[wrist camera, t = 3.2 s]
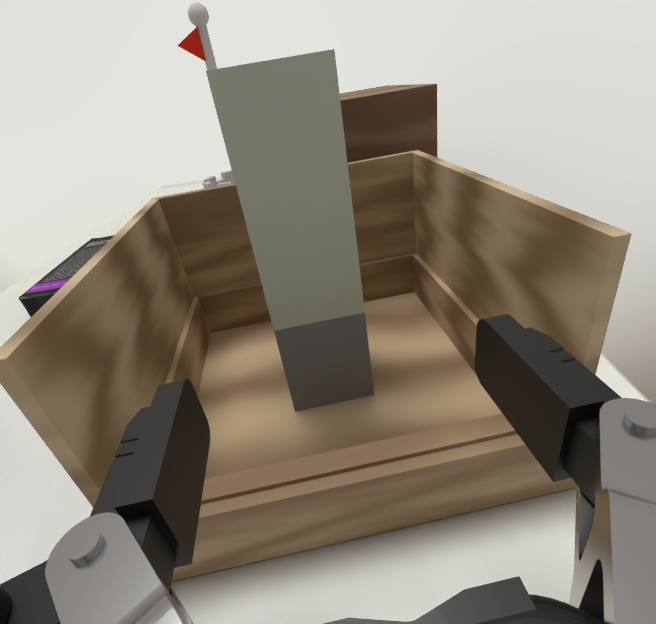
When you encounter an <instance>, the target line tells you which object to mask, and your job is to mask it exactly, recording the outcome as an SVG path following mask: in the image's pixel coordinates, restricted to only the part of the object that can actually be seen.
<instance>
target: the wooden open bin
mask: <svg viewBox="0 0 656 624" xmlns="http://www.w3.org/2000/svg"><path fill="white" fill-rule="evenodd" d="M347 164H348V172H349V181H350V189H351V198H352V207H353V215H354V224H355V232H356V241H357V250H358V258H359V267H360V275H361V284H362V293H363V301H364V310H365V319H366V327H367V336H368V344H369V353H370V362H371V370H372V379H373V387H374V395H371V396H366V397H361V398H357V399H352V400H347V401H343V402H338V403H333V404H329V405H324V406H319V407H315V408H310V409H305V410H301V411H296V412H295V410H294V406H293V402H292V398H291V395H290V391H289V387H288V383H287V379H286V375H285V372H284V368H283V364H282V360H281V356H280V352H279V349H278V345H277V341H276V337H275V333H274V329H273V326H272V322H271V318H270V314H269V310H268V306H267V303H266V299H265V295H264V291H263V287H262V283H261V280H260V276H259V272H258V268H257V264H256V260H255V257H254V253H253V249H252V245H251V241H250V238H249V234H248V230H247V226H246V222H245V218H244V215H243V211H242V207H241V203H240V199H239V195H238V192H237V188H236V184H229V185H224V186H218V187H213V188H207V189H202V190H196V191H191V192H185V193H180V194H175V195H169V196H164V197H158V198H153V199H151V200H150V201H149V202H148V203H147V204H146V205H145V206H144V207H143V208H142V209H141V210H140V211H139V212H138V213H137V214H136V215H135V216H134V217H133V218H132V219H131V220H130V221H129V222H128V223H127V224H126V225H125V226H124V227H123V228H122V229H121V230H120V231H119V232H118V233H117V234H116V235H115V236H114V237H113V238H112V239H111V240H109V241H108V242H107V243H106V244H105V245H104V246H103V247H102V248H101V249H100V250H99V251H98V252H97V253H96V254H95V255H94V256H93V257H92V258H91V259H90V260H89V261H88V262H87V263H86V264H85V265H84V266H83V267H82V268H81V269H80V270H79V271H78V272H77V273H76V274H75V275H74V276H73V277H72V278H71V279H70V280H69V281H68V282H67V283H66V284H65V285H64V286H63V287H62V288H61V289H60V290H59V291H58V292H57V293H56V294H54V295H53V296H52V297H51V298H50V299H49V300H48V301H47V302H46V303H45V304H44V305H43V306H42V307H41V308H40V309H39V310H38V311H37V312H36V313H35V314H34V315H33V316H32V317H31V318H30V319H29V320H28V321H27V322H26V323H25V324H24V325H23V326H22V327H21V328H20V329H19V330H18V331H17V332H16V333H15V334H14V335H13V336H12V337H11V338H10V339H9V340H8V341H7V342H6V343H5V344H4V345H3V346H2V347H1V348H0V383H1V385H2V386H3V387H4V389H5V390H6V391H7V393H8V394H9V395H10V397H11V398H12V399H13V401H14V402H15V403H16V405H17V406H18V407H19V409H20V410H21V411H22V413H23V414H24V415H25V417H26V418H27V419H28V421H29V422H30V423H31V425H32V426H33V427H34V429H35V430H36V431H37V433H38V434H39V435H40V437H41V438H42V439H43V441H44V442H45V443H46V445H47V446H48V447H49V449H50V450H51V451H52V453H53V454H54V455H55V457H56V458H57V459H58V461H59V462H60V463H61V465H62V466H63V467H64V469H65V470H66V471H67V473H68V474H69V476H70V477H71V478H72V480H73V481H74V482H75V484H76V485H77V486H78V488H79V489H80V490H81V492H82V493H83V494H84V496H85V497H86V498H87V500H88V501H89V502H90V504H91V505H92V506H93V508H94V505H95V503H96V500H97V498H98V495H99V493H100V490H101V488H102V485H103V483H104V481H105V478H106V476H107V473H108V471H109V468H110V466H111V463H112V461H113V460H114V459H115V453H116V451H117V449H118V446H119V445H121V442H120V441H121V439H122V436H123V434H124V431H125V429H126V426H127V424H128V423H129V422H130V421H131V420H132V418H133V417H134V416H135V415H136V414H137V413H138V411H139V410H140V409H141V408H145V407H150V406H151V403H152V400H153V397H154V394H155V392H156V389H157V387H158V386H159V385H162V384H167V383H171V382H176V381H181V380H186V379H188V380H190V381H191V383H192V385H193V387H194V389H195V392H196V394H197V396H198V399H199V401H200V403H201V406H202V408H203V411H204V413H205V415H206V418H207V420H208V424H209V428H210V447H209V454H208V460H207V467H206V473H205V480H204V487H203V493H202V500H201V507H200V513H199V520H198V527H197V533H196V540H195V546H194V553H193V560H192V564H190V565H185V566H181V567H177V568H174V572H173V578H172V581H176V580H181V579H185V578H189V577H193V576H198V575H202V574H206V573H211V572H215V571H219V570H224V569H228V568H232V567H236V566H241V565H245V564H249V563H254V562H258V561H262V560H267V559H271V558H275V557H279V556H284V555H288V554H292V553H297V552H301V551H305V550H309V549H314V548H318V547H322V546H327V545H331V544H335V543H340V542H344V541H348V540H352V539H357V538H361V537H365V536H370V535H374V534H378V533H383V532H387V531H391V530H395V529H400V528H404V527H408V526H413V525H417V524H421V523H426V522H430V521H434V520H438V519H443V518H447V517H451V516H456V515H460V514H464V513H469V512H473V511H477V510H481V509H486V508H490V507H494V506H499V505H503V504H507V503H512V502H516V501H520V500H524V499H529V498H533V497H537V496H542V495H546V494H550V493H555V492H559V491H563V490H567V489H572V488H576V487H578V485H577V484H576V483H575V482H574V480H573V479H572V478H569V479H565V480H561V481H556V482H553V481H552V480H551V479H550V477H549V476H548V474H547V473H546V472H545V470H544V469H543V468H542V466H541V465H540V464H539V462H538V461H537V460H536V458H535V457H534V456H533V454H532V453H531V451H530V450H529V449H528V447H527V446H526V445H525V443H524V442H523V441H522V439H521V438H520V437H519V435H518V434H517V433H516V431H515V430H514V428H513V427H512V426H511V424H510V423H509V422H508V420H507V419H506V418H505V416H504V415H503V414H502V412H501V411H500V410H499V408H498V407H497V406H496V404H495V403H494V401H493V400H492V399H491V397H490V396H489V395H488V393H487V392H486V391H485V389H484V388H483V387H482V385H481V384H480V382H479V380H478V377H477V374H476V370H475V348H476V329H477V323H478V321H479V320H480V319H484V318H489V317H494V316H498V315H503V314H509V315H510V316H512V317H513V318H514V319H515V320H516V321H517V322H518V323H519V324H521V325H522V326H523V327H524V328H525V329H526V328H530V327H531V328H533V329H535V330H537V331H540V332H542V333H544V334H546V335H548V336H550V337H551V338H553V339H554V340H555V341H556V342H557V343H558V344H560V345H561V346H562V347H563V348H564V351H568V352H569V353H570V354H571V355H572V356H573V357H575V360H576V361H579V362H580V363H582V364H583V365H584V366H585V367H586V368H587V369H589V370H590V371H591V372H592V373H593V374H594V375H595V374H596V370H597V366H598V362H599V358H600V354H601V350H602V346H603V342H604V338H605V335H606V331H607V327H608V323H609V319H610V315H611V311H612V307H613V303H614V300H615V296H616V292H617V288H618V284H619V280H620V276H621V272H622V268H623V265H624V261H625V256H626V253H627V248H628V245H629V241H630V237H631V233H629V232H626V231H624V230H621V229H619V228H616V227H614V226H611V225H608V224H606V223H603V222H601V221H598V220H596V219H593V218H591V217H588V216H585V215H583V214H580V213H578V212H575V211H573V210H570V209H567V208H565V207H562V206H560V205H557V204H554V203H552V202H550V201H547V200H544V199H542V198H539V197H537V196H534V195H532V194H529V193H526V192H524V191H521V190H519V189H516V188H514V187H511V186H508V185H506V184H503V183H500V182H498V181H495V180H493V179H490V178H488V177H485V176H483V175H480V174H478V173H475V172H473V171H470V170H467V169H465V168H462V167H460V166H457V165H454V164H452V163H449V162H446V161H444V160H442V159H439V158H437V157H434V156H431V155H429V154H426V153H424V152H421V151H419V150H415V151H409V152H404V153H398V154H393V155H387V156H382V157H376V158H371V159H366V160H360V161H355V162H349V163H347Z"/></svg>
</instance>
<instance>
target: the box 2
mask: <svg viewBox="0 0 656 624" xmlns="http://www.w3.org/2000/svg"><path fill="white" fill-rule="evenodd" d="M206 73H207V76H208V80H209V84H210V88H211V92H212V96H213V100H214V104H215V107H216V111H217V115H218V119H219V123H220V126H221V130H222V134H223V138H224V142H225V145H226V149H227V153H228V157H229V161H230V165H231V169H232V172H233V176H234V180H235V184H236V188H237V192H238V195H239V199H240V203H241V207H242V211H243V215H244V218H245V222H246V226H247V230H248V234H249V238H250V241H251V245H252V249H253V253H254V257H255V260H256V264H257V268H258V272H259V276H260V280H261V283H262V287H263V291H264V295H265V299H266V303H267V306H268V310H269V314H270V318H271V322H272V326H273V329H274V333H275V337H276V341H277V345H278V349H279V352H280V356H281V360H282V364H283V368H284V372H285V375H286V379H287V383H288V387H289V391H290V395H291V398H292V402H293V406H294V410H295V412H296V411H301V410H305V409H310V408H315V407H319V406H324V405H329V404H333V403H338V402H343V401H347V400H352V399H357V398H361V397H366V396H371V395H374V387H373V379H372V370H371V362H370V353H369V344H368V336H367V327H366V319H365V310H364V301H363V293H362V284H361V275H360V267H359V258H358V250H357V241H356V232H355V224H354V215H353V207H352V198H351V189H350V181H349V172H348V164H347V155H346V146H345V138H344V129H343V120H342V112H341V103H340V95H339V86H338V77H337V69H336V60H335V52H334V49H333V50H327V51H321V52H315V53H309V54H304V55H298V56H292V57H286V58H280V59H274V60H269V61H262V62H256V63H250V64H244V65H238V66H232V67H227V68H220V69H214V70H208V71H206Z"/></svg>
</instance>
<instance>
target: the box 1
mask: <svg viewBox="0 0 656 624" xmlns="http://www.w3.org/2000/svg"><path fill="white" fill-rule="evenodd" d="M114 236H115V235H114ZM114 236H108V237H103V238H92V239H91V240H89V241H88V242H87V243H85V244H84V245H83V246H82V247H80V248H79V249H78V250H77V251H75V252H74V253H73V254H72V255H71V256H69V257H68V258H67V259H66V260H64V261H63V262H62V263H61V264H59V265H58V266H57V267H56V268H54V269H53V270H52V271H51V272H49V273H48V274H47V275H46V276H44V277H43V278H42V279H41V280H40V281H39V282H37V283H36V284H35V285H34V286H32V287H31V288H30V289H29V290H27V291H26V292H25V293H24V294H23V295H21V296H20V297H19V300H20V301H21V303H22V304H23V306H24V307H25V308H26V310H27V312H28V313H29V315H30V316H31V317H32V316H33V315H34V314H35V313H36V312H37V311H38V310H39V309H40V308H41V307H42V306H43V305H44V304H45V303H46V302H47V301H48V300H49V299H50V298H51V297H52V296H53V295H54V294H56V293H57V292H58V291H59V290H60V289H61V288H62V287H63V286H64V285H65V284H66V283H67V282H68V281H69V280H70V279H71V278H72V277H73V276H74V275H75V274H76V273H77V272H78V271H79V270H80V269H81V268H82V267H83V266H84V265H85V264H86V263H87V262H88V261H89V260H90V259H91V258H92V257H93V256H94V255H95V254H96V253H97V252H98V251H99V250H100V249H101V248H102V247H103V246H104V245H105V244H106V243H107V242H108V241H109V240H111V239H112V238H113V237H114Z"/></svg>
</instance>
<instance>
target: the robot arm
mask: <svg viewBox="0 0 656 624" xmlns="http://www.w3.org/2000/svg"><path fill="white" fill-rule="evenodd" d="M475 370H476V374H477V377H478V380H479V382H480V384H481V385H482V387H483V388H484V389H485V391H486V392H487V393H488V395H489V396H490V397H491V399H492V400H493V401H494V403H495V404H496V406H497V407H498V408H499V410H500V411H501V412H502V414H503V415H504V416H505V418H506V419H507V420H508V422H509V423H510V424H511V426H512V427H513V428H514V430H515V431H516V433H517V434H518V435H519V437H520V438H521V439H522V441H523V442H524V443H525V445H526V446H527V447H528V449H529V450H530V451H531V453H532V454H533V456H534V457H535V458H536V460H537V461H538V462H539V464H540V465H541V466H542V468H543V469H544V470H545V472H546V473H547V474H548V476H549V477H550V479H551V480H552V481H553V482H556V481H561V480H565V479H569V478H572V479H573V480H574V482H575V483H576V484H577V485H578V490H577V495H576V526H575V558H574V575H573V582H572V588H571V594H570V603H569V604H567V603H564V602H561V601H558V600H555V599H552V598H547V597H542V596H537V595H529V594H528V592H527V590H526V589H525V587H524V585H523V583H522V581H521V579H520V577H514V578H510V579H506V580H502V581H498V582H494V583H490V584H486V585H481V586H477V587H473V588H469V589H465V590H463V591H461V592H460V593H458V594H457V595H455V596H453V597H452V598H450V599H449V600H447V601H445V602H444V603H442V604H441V605H439V606H437V607H436V608H434V609H433V610H431V611H429V612H428V613H426V614H425V615H423V616H421V617H420V618H418V619H416V620H414V621H410V622H400V621H386V620H372V619H358V618H345V619H341V620H337V621H333V622H329V623H325V624H656V405H654V404H652V403H649V402H646V401H642V400H637V399H629V398H621V397H620V396H619V395H618V394H617V393H615V392H614V391H613V390H612V389H611V388H610V387H608V386H607V385H606V384H605V383H604V382H603V381H601V380H600V379H599V378H598V377H597V376H596V375H594V374H593V373H592V372H591V371H590V370H589V369H587V368H586V367H585V366H584V365H583V364H582V363H580V362H579V361H576V360H575V357H573V356H572V355H571V354H570V353H569V352H568V351H564V348H563V347H562V346H561V345H560V344H558V343H557V342H556V341H555V340H554V339H553V338H551V337H550V336H548V335H546V334H544V333H542V332H540V331H537V330H535V329H533V328H531V327H530V328H526V329H525V328H524V327H523V326H522V325H521V324H519V323H518V322H517V321H516V320H515V319H514V318H513V317H512V316H510V315H509V314H503V315H498V316H494V317H489V318H484V319H480V320H479V321H478V323H477V329H476V348H475ZM120 442H121V445H119V446H118V449H117V451H116V453H115V459H114V460H113V461H112V463H111V466H110V468H109V471H108V473H107V476H106V478H105V481H104V483H103V485H102V488H101V490H100V493H99V495H98V498H97V500H96V503H95V505H94V508H93V510H92V512H91V515H90V517H89V518H87V519H85V520H83V521H81V522H80V523H78V524H77V525H75V526H74V527H73V528H72V529H70V530H69V531H68V532H67V533H66V534H65V535H64V536H63V537H62V538H61V539H60V541H59V542H58V543H57V544H56V546H55V547H54V549H53V550H52V552H51V554H50V556H49V558H48V560H47V561H45V562H43V563H42V564H40V565H38V566H36V567H34V568H32V569H30V570H28V571H26V572H24V573H22V574H20V575H18V576H16V577H14V578H12V579H10V580H8V581H6V582H4V583H2V584H0V624H193V622H192V620H191V619H190V617H189V615H188V614H187V612H186V610H185V609H184V607H183V606H182V604H181V602H180V601H179V599H178V597H177V596H176V594H175V592H174V591H173V589H172V588H171V583H172V578H173V572H174V568H177V567H181V566H185V565H190V564H192V560H193V553H194V546H195V540H196V533H197V527H198V520H199V513H200V507H201V500H202V493H203V487H204V480H205V473H206V467H207V460H208V454H209V447H210V428H209V424H208V420H207V418H206V415H205V413H204V411H203V408H202V406H201V403H200V401H199V399H198V396H197V394H196V392H195V389H194V387H193V385H192V383H191V381H190V380H188V379H186V380H181V381H176V382H171V383H167V384H162V385H159V386H158V387H157V389H156V392H155V394H154V397H153V400H152V403H151V406H150V407H145V408H141V409H140V410H139V411H138V413H137V414H136V415H135V416H134V417H133V418H132V420H131V421H130V422H129V423H128V424H127V426H126V429H125V431H124V434H123V436H122V439H121V441H120Z"/></svg>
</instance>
